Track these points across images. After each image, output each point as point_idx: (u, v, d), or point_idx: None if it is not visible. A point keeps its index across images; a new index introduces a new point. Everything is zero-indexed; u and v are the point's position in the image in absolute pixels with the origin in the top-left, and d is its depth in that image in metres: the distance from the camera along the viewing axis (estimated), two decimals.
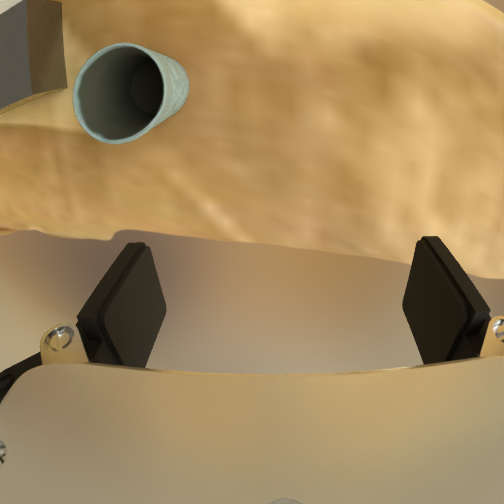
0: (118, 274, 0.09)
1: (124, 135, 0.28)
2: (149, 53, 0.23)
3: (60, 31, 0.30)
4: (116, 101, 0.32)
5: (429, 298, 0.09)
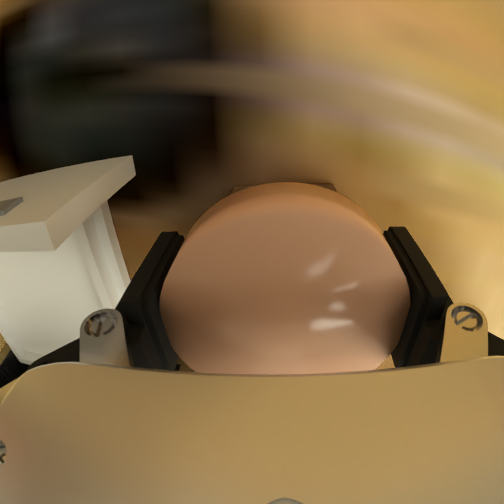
0: (157, 260, 0.09)
1: None
2: None
3: None
4: None
5: None
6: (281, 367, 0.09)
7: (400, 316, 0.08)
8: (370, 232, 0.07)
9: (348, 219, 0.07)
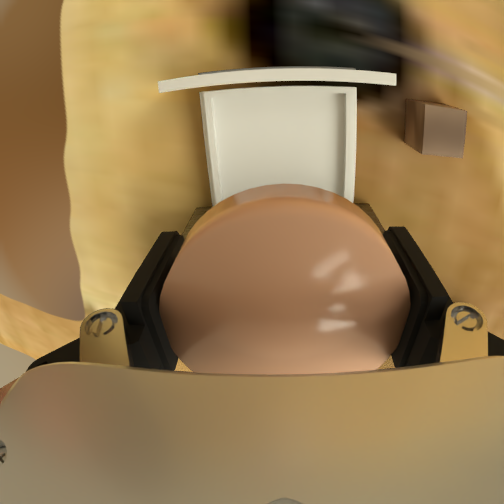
0: (157, 260, 0.09)
1: None
2: None
3: None
4: None
5: None
6: (281, 368, 0.09)
7: (400, 318, 0.08)
8: (370, 234, 0.07)
9: (348, 221, 0.07)
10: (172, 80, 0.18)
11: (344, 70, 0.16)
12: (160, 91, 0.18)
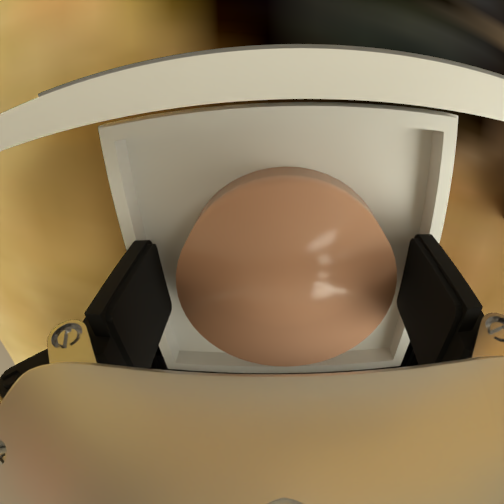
0: (125, 271, 0.09)
1: None
2: None
3: None
4: None
5: (422, 295, 0.09)
6: (283, 332, 0.11)
7: (388, 283, 0.09)
8: (358, 206, 0.08)
9: (339, 194, 0.08)
10: None
11: None
12: None
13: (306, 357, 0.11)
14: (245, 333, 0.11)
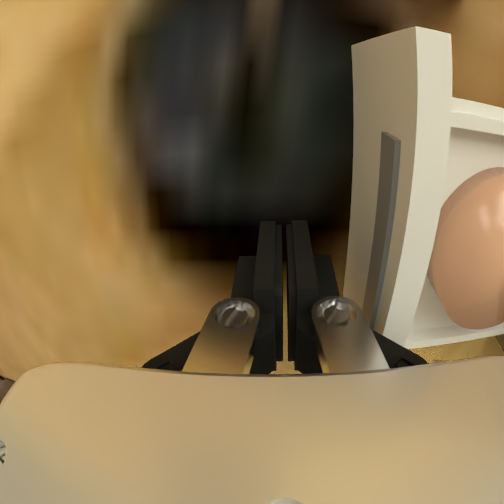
0: (273, 248, 0.09)
1: None
2: None
3: None
4: None
5: (287, 279, 0.10)
6: None
7: None
8: (469, 216, 0.09)
9: (458, 229, 0.09)
10: None
11: (414, 192, 0.06)
12: None
13: None
14: None
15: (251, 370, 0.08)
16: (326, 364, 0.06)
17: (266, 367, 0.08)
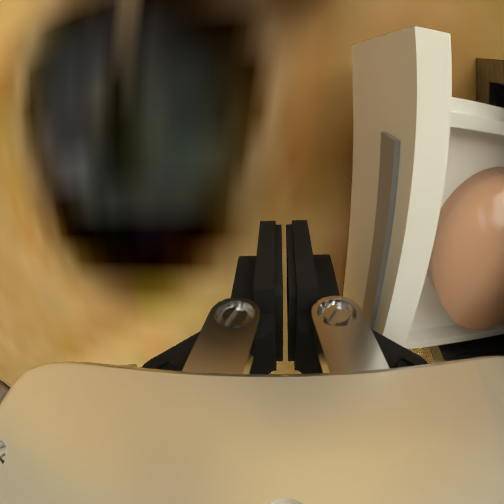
0: (273, 248, 0.09)
1: None
2: None
3: None
4: None
5: (287, 279, 0.10)
6: None
7: None
8: (469, 216, 0.09)
9: (458, 229, 0.09)
10: None
11: (413, 192, 0.06)
12: None
13: None
14: None
15: (251, 370, 0.08)
16: (326, 364, 0.06)
17: (266, 367, 0.08)
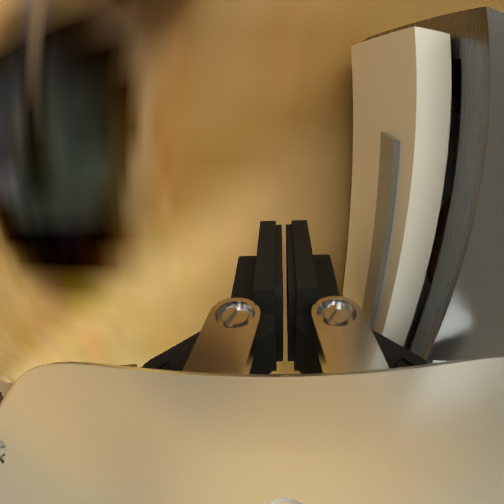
0: (273, 248, 0.09)
1: None
2: None
3: None
4: None
5: None
6: None
7: None
8: None
9: None
10: None
11: (413, 192, 0.06)
12: None
13: None
14: None
15: (251, 370, 0.08)
16: (326, 364, 0.06)
17: (266, 368, 0.08)
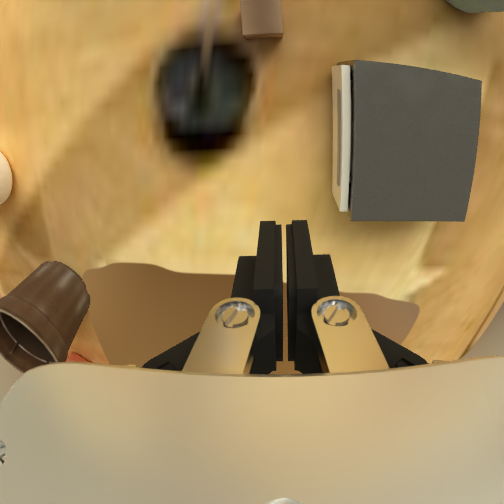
0: (273, 248, 0.09)
1: None
2: None
3: None
4: None
5: None
6: None
7: None
8: None
9: None
10: (341, 202, 0.32)
11: (343, 99, 0.26)
12: (346, 210, 0.32)
13: None
14: None
15: (251, 370, 0.08)
16: (326, 364, 0.06)
17: (266, 368, 0.08)
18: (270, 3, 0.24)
